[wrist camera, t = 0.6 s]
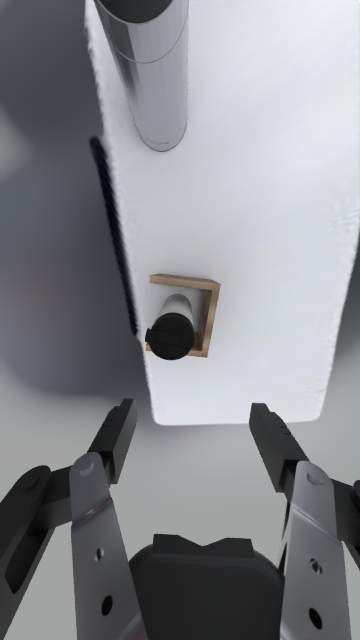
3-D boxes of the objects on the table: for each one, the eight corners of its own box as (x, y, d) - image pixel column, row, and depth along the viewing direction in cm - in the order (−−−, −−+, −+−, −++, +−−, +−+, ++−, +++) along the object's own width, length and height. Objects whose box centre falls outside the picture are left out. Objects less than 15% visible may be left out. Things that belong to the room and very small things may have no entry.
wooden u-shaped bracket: (158, 273, 38) (149, 275, 29) (211, 279, 38) (220, 284, 29) (154, 332, 42) (145, 350, 33) (202, 337, 43) (207, 357, 33)
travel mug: (166, 290, 39) (149, 312, 20) (193, 297, 40) (202, 325, 21) (160, 315, 41) (140, 356, 22) (186, 322, 41) (188, 368, 22)
